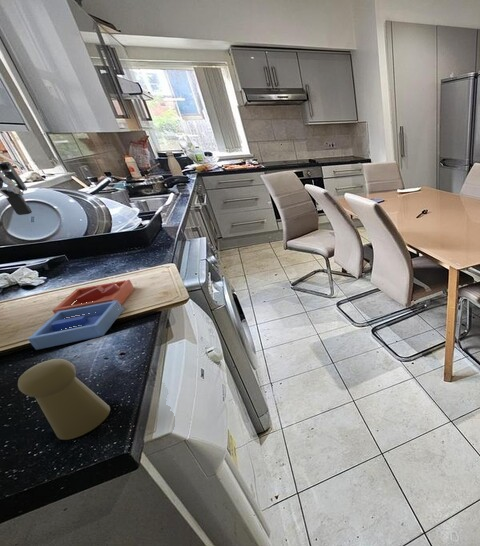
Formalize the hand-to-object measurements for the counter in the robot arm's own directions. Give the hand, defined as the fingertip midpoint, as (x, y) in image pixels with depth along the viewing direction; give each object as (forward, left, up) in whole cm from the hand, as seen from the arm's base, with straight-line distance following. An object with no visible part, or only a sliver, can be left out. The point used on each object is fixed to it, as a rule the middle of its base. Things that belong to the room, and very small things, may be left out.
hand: (11, 220), depth 64 cm
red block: (+7, 0, -20) cm, 22 cm away
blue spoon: (+7, -11, -22) cm, 25 cm away
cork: (+20, -40, -22) cm, 50 cm away
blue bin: (+7, -11, -22) cm, 26 cm away
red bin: (+6, 0, -22) cm, 23 cm away
